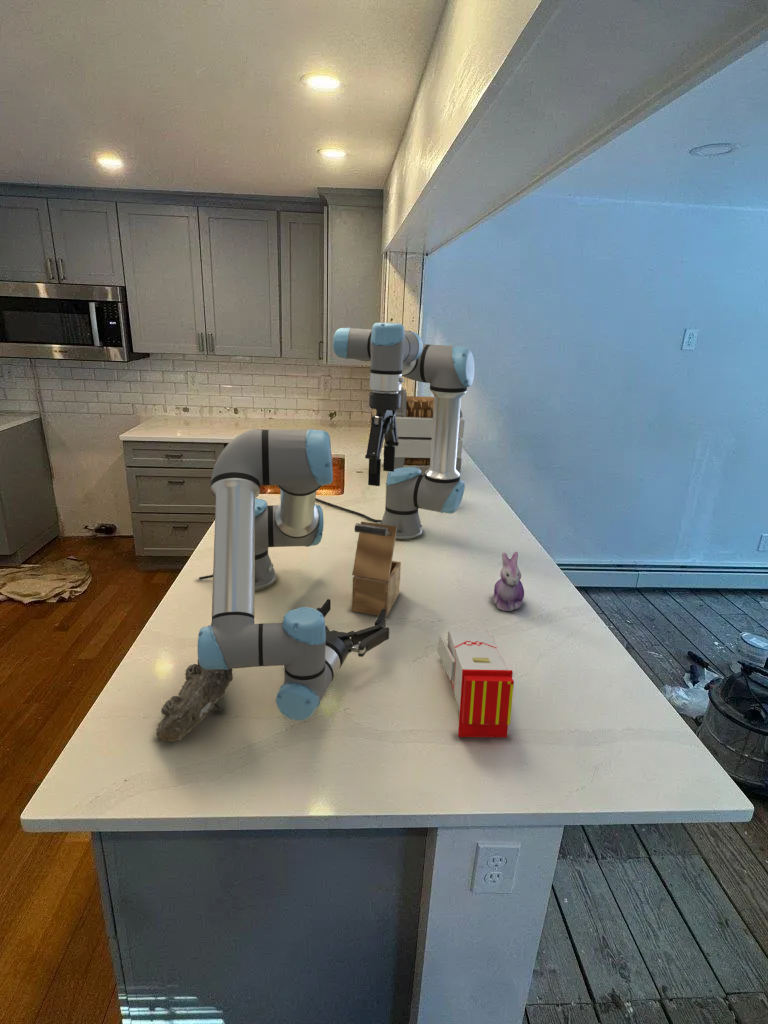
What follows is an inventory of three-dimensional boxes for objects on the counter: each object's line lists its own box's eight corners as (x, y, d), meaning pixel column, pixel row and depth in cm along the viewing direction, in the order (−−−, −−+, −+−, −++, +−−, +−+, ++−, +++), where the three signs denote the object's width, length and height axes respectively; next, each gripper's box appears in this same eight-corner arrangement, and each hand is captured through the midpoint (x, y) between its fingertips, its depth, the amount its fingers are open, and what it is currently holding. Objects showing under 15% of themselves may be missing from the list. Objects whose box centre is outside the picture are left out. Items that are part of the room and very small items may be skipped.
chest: (366, 588, 160) (368, 556, 157) (399, 593, 158) (401, 562, 155) (351, 610, 148) (352, 577, 145) (386, 617, 146) (388, 583, 142)
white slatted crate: (382, 463, 289) (386, 382, 275) (445, 464, 293) (451, 384, 279) (390, 482, 257) (394, 392, 243) (460, 483, 261) (468, 394, 247)
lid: (362, 521, 147) (353, 517, 138) (397, 526, 144) (390, 522, 136) (353, 575, 145) (343, 574, 137) (388, 581, 143) (381, 580, 135)
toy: (488, 613, 130) (523, 677, 101) (484, 667, 133) (517, 744, 104) (435, 612, 130) (455, 676, 101) (432, 666, 133) (451, 743, 103)
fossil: (183, 653, 120) (233, 621, 115) (215, 683, 122) (265, 653, 117) (132, 735, 100) (190, 701, 95) (171, 768, 103) (229, 737, 98)
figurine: (506, 615, 149) (513, 563, 144) (482, 598, 157) (488, 548, 152) (534, 608, 153) (541, 558, 148) (509, 592, 161) (516, 543, 156)
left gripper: (267, 662, 119) (307, 613, 138) (382, 687, 113) (406, 632, 132) (266, 632, 116) (306, 586, 136) (384, 655, 110) (408, 603, 130)
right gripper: (387, 400, 122) (382, 493, 129) (412, 386, 144) (407, 467, 152) (353, 397, 124) (351, 490, 131) (383, 384, 146) (380, 464, 153)
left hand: (356, 608), depth 134 cm, fingers open, 13 cm apart
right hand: (381, 477), depth 141 cm, fingers open, 13 cm apart
